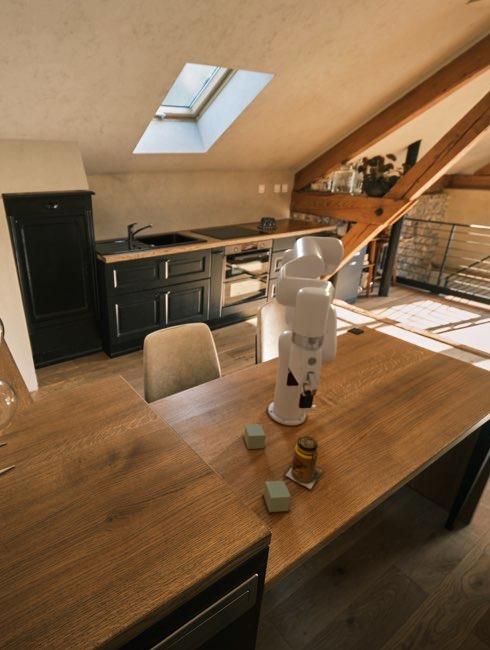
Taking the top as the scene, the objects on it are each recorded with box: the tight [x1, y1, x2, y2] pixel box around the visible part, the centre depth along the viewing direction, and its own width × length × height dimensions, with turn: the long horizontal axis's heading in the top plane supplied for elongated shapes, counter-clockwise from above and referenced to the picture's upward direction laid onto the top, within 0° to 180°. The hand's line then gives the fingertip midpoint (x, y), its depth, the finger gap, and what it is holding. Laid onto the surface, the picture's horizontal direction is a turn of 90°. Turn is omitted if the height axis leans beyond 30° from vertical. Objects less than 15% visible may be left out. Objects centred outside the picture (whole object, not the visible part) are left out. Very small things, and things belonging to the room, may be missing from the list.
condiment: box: [284, 435, 323, 490], centre depth 106 cm, size 7×8×12 cm
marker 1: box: [243, 423, 266, 450], centre depth 118 cm, size 5×5×5 cm
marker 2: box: [263, 480, 292, 513], centre depth 98 cm, size 5×5×5 cm
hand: (298, 395), depth 100 cm, fingers open, 9 cm apart
